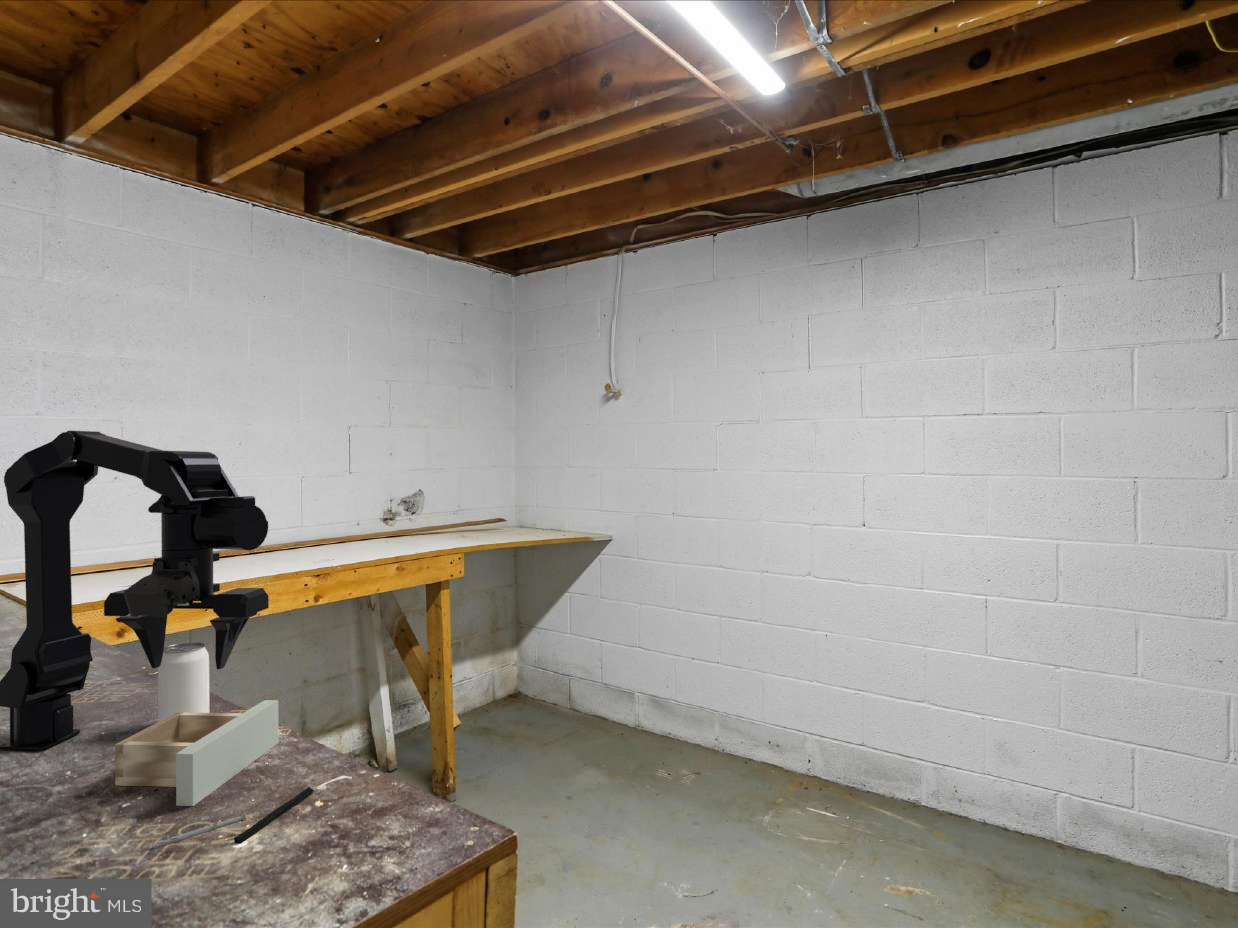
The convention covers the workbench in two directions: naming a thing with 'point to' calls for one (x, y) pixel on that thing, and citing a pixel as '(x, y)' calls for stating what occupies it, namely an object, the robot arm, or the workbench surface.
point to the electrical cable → (274, 815)
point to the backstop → (225, 752)
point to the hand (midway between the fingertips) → (188, 667)
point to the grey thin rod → (197, 832)
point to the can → (183, 680)
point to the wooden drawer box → (162, 748)
